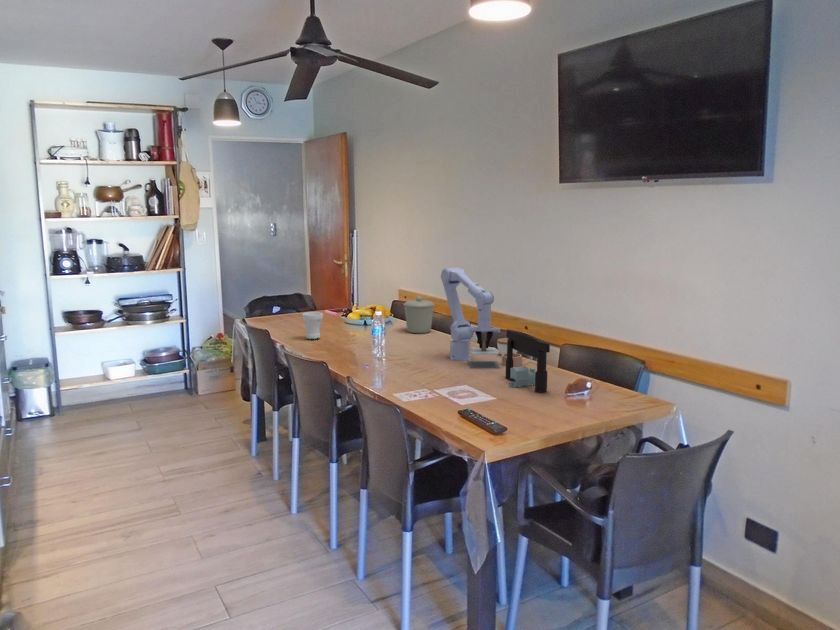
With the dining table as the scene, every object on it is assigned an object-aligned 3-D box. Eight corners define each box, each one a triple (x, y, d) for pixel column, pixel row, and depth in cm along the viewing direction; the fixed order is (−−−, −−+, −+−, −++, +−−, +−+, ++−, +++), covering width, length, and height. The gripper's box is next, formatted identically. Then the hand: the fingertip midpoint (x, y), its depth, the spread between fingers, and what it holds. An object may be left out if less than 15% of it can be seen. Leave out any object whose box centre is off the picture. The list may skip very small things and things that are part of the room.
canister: (441, 331, 381) (441, 295, 378) (419, 336, 368) (419, 299, 365) (418, 327, 393) (418, 292, 390) (396, 332, 380) (396, 295, 377)
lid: (471, 354, 295) (471, 343, 294) (469, 348, 307) (469, 338, 306) (498, 354, 295) (498, 343, 294) (495, 348, 307) (495, 338, 306)
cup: (306, 336, 367) (305, 311, 364) (326, 337, 365) (325, 312, 363) (300, 340, 356) (299, 315, 353) (320, 341, 354) (319, 315, 352)
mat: (469, 369, 295) (469, 368, 295) (467, 361, 309) (467, 361, 309) (500, 369, 295) (500, 368, 295) (496, 361, 309) (496, 361, 309)
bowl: (503, 367, 299) (503, 357, 298) (500, 362, 308) (500, 353, 307) (522, 367, 299) (523, 357, 298) (519, 362, 308) (519, 353, 307)
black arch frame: (522, 325, 285) (566, 340, 255) (521, 373, 289) (564, 393, 258) (490, 328, 279) (531, 343, 249) (489, 376, 283) (530, 397, 253)
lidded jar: (518, 358, 316) (518, 339, 314) (495, 357, 318) (496, 338, 316) (519, 353, 326) (520, 335, 324) (497, 352, 328) (498, 334, 327)
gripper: (469, 320, 294) (468, 349, 297) (501, 320, 295) (500, 349, 297) (467, 317, 301) (467, 346, 304) (499, 317, 302) (498, 346, 304)
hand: (483, 347), depth 301 cm, fingers closed on lid, 2 cm apart
